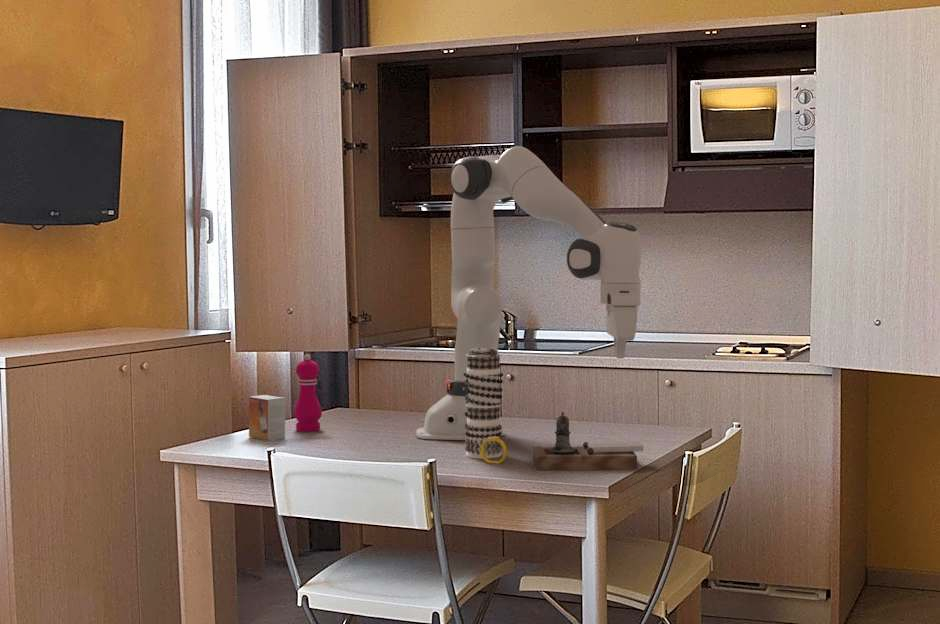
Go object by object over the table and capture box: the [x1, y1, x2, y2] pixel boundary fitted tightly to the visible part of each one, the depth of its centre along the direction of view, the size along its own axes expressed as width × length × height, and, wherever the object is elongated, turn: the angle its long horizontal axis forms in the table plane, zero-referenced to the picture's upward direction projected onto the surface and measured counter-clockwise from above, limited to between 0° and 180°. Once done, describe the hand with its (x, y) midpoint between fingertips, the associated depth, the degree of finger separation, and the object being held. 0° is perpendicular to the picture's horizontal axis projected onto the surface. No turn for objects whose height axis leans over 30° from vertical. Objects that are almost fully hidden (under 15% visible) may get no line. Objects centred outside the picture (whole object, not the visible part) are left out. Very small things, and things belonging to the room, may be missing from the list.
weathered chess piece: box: [549, 411, 576, 455], centre depth 268 cm, size 6×6×12 cm
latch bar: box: [587, 441, 644, 453], centre depth 270 cm, size 12×5×1 cm, turn 91°
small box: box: [248, 394, 286, 442], centre depth 305 cm, size 8×6×10 cm
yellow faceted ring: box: [481, 436, 508, 464], centre depth 272 cm, size 6×3×6 cm, turn 66°
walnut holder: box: [532, 441, 638, 471], centre depth 270 cm, size 22×12×4 cm, turn 91°
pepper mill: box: [293, 353, 323, 433], centre depth 317 cm, size 7×7×20 cm
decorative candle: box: [464, 348, 504, 460], centre depth 281 cm, size 9×9×25 cm
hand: (619, 357), depth 269 cm, fingers closed
